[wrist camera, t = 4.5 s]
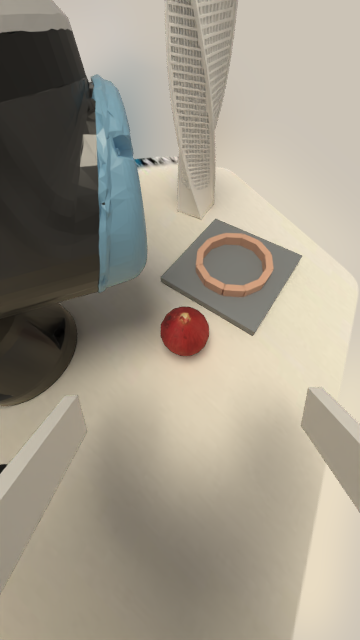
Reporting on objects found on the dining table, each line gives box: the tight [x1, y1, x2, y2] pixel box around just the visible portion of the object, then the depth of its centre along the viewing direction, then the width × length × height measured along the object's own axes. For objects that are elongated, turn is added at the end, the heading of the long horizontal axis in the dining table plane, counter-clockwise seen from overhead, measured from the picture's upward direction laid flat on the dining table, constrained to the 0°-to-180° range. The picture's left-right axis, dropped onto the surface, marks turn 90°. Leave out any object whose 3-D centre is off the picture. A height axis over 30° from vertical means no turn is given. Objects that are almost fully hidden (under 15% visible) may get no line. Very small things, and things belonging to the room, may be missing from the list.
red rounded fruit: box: [161, 307, 209, 356], centre depth 24 cm, size 6×6×8 cm
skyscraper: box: [165, 0, 238, 220], centre depth 27 cm, size 8×8×28 cm
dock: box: [161, 219, 302, 336], centre depth 31 cm, size 16×16×3 cm
